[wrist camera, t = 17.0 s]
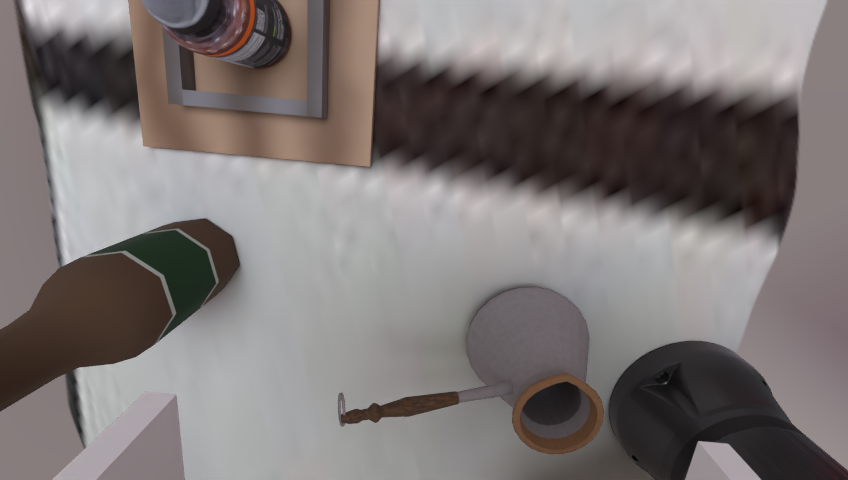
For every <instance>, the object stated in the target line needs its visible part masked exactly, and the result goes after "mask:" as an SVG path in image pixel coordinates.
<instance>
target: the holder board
mask: <svg viewBox="0 0 848 480" xmlns="http://www.w3.org/2000/svg"><path fill="white" fill-rule="evenodd" d="M278 1H279V2H280V4H281V5H282V6H283V8H284V10H285V11H286V13H287V15H288V18H289V22H290V26H291V40H290V44H289V47H288V50H287V52H286V54H285V55H284V56H283V58H282V59H281V60H280V61H279V62H277V63H276V64H274V65H272V66H270V67H267V68H261V69H257V68H249V67H245V66H240V65H237V64H233V63H230V62H229V63H228V62H226V61H223V60H219V59H215V58H211V57H208V56H204V55H202V54H198V53H195V52H192V51H190V50H188V49H186V48H184V47H182V46H181V45H179V44H178V43H176V42H175V41H174V40H173V39H172V38H171V37H170V36H169V35H168V34H167V33H166V32H165V31H164V29H163V28H162V26H161V25H160V23H159V22H158V21H157V20H155V19H154V18H153V17H152V16H151V15H150V14H149V13H148V12H147V10H146V9H145V7H144V5H143V4H142V2H141V0H128V2H129V12H130V21H131V31H132V41H133V50H134V60H135V70H136V79H137V89H138V98H139V108H140V118H141V127H142V137H143V146H147V147H158V148H169V149H180V150H191V151H202V152H213V153H224V154H235V155H246V156H258V157H269V158H280V159H291V160H302V161H313V162H324V163H335V164H346V165H357V166H368V167H370V166H372V146H373V126H374V106H375V87H376V67H377V47H378V27H379V7H380V0H278Z"/></svg>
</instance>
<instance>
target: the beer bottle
mask: <svg viewBox="0 0 848 480" xmlns="http://www.w3.org/2000/svg"><path fill="white" fill-rule="evenodd" d="M238 266H239V261H238V258H237V254H236V250H235V247H234V243H233V240H232V236H230V235H229V234H227V233H226V232H224V231H223V230H221V229H220V228H218V227H217V226H215V225H214V224H213V223H211V222H210V221H208V220H207V219H205V218H204V219H197V220H189V221H181V222H174V223H171V224H167V225H164V226H161V227H158V228H156V229H153V230H151V231H148V232H146V233H143V234H140V235H138V236H135V237H133V238H130V239H127V240H125V241H122V242H120V243H117V244H115V245H112V246H109V247H107V248H104V249H102V250H99V251H96V252H94V253H91V254H89V255H86V256H84V257H81V258H79V259H77V260H75V261H73V262H71V263H69V264H67V265H65V266H63V267H61V268H59V269H58V270H57V271H56V272H55V273H54V274H53V275H52V276H51V277H50V278H49V279H48V280H47V281H46V282H45V283H44V284H43V286H42V287H41V289H40V291H39V293H38V295H37V297H36V299H35V301H34V302H33V305H32V307H31V308H30V310H29V311H27V312H26V313H25V314H23V315H22V316H20V317H19V318H18V319H16V320H15V321H13V322H12V323H11V324H9V325H8V326H6V327H4V328H2V329H1V330H0V411H2V410H3V409H5V408H7V407H8V406H10V405H12V404H13V403H15V402H17V401H18V400H20V399H22V398H24V397H25V396H27V395H28V394H30V393H32V392H34V391H35V390H37V389H38V388H40V387H42V386H43V385H45V384H47V383H49V382H50V381H52V380H53V379H55V378H57V377H59V376H61V375H63V374H66V373H68V372H70V371H72V370H74V369H76V368H79V367H88V366H97V365H106V364H114V363H117V362H121V361H124V360H127V359H131V358H134V357H136V356H138V355H139V354H141V353H142V352H144V351H145V350H147V349H149V348H150V347H152V346H153V345H155V344H156V343H157V342H158V341H160V340H161V339H162V338H163V337H165V336H166V335H167V334H168V333H170V332H171V331H172V330H173V329H175V328H176V327H177V326H178V325H180V324H181V323H182V322H183V321H184V320H186V319H187V318H188V317H189V316H191V315H192V314H193V313H194V312H196V311H197V310H198V309H199V308H201V307H202V306H203V305H204V304H206V303H207V302H208V301H209V300H211V299H212V298H213V297H214V296H216V295H217V294H218V293H219V292H220V291H221V290H222V289H223V288H224V287H225V286H226V284H227V283H228V281H229V280H230V278H231V277H232V275H233V274H234V272H235V271H236V269H237V268H238Z"/></svg>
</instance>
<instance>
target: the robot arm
mask: <svg viewBox="0 0 848 480" xmlns="http://www.w3.org/2000/svg"><path fill="white" fill-rule="evenodd" d="M609 417H610V423H611V426H612V429H613V431H614V433H615V435H616V437H617V438H618V440H619V442H620V444H621V445H622V447H623V449H624V450H625V452H626V453H627V454H628V456H629V457H630V458H631V459H632V460H633V461H634V462H635V463H636V464H637V465H639V466H640V467H641V468H642V469H644V470H645V471H647V472H648V473H649V474H650V475H651V476H652V477H653V478H654V479H655V480H848V471H847V469H845V468H844V467H843V466H841V465H840V464H839V463H838V462H837V461H836V460H834V459H833V458H832V457H831V456H830V455H828V454H827V453H826V452H825V451H823V450H822V449H821V448H820V447H819V446H817V445H816V444H815V443H814V442H813V441H812V440H810V439H809V438H808V437H806V435H804V434H803V433H802V432H801V431H800V430H798V429H797V428H796V427H795V426H794V425H793V424H792V423H791V422H790V420H789V418H788V417H787V415H786V414H785V413H784V411H783V410H782V408H781V407H780V406H779V404H778V403H777V401H776V400H775V398H774V397H773V395H772V392H771V390H770V388H769V386H768V384H767V383H766V381H765V379H764V378H763V377H762V376H761V374H760V373H759V372H758V371H757V370H756V369H755V368H754V367H753V366H751V365H750V364H749V363H748V362H746V361H745V360H744V359H742V358H741V357H740V356H738V355H737V354H736V353H734V352H733V351H731V350H729V349H727V348H725V347H723V346H720V345H717V344H713V343H708V342H698V341H690V342H680V343H675V344H671V345H667V346H664V347H661V348H659V349H656V350H654V351H652V352H650V353H649V354H647V355H645V356H644V357H642V358H641V359H639V360H638V361H636V362H635V363H634V364H633V365H632V366H631V367H630V368H629V369H628V370H627V371H626V372H625V373H624V374H623V376H622V377H621V378H620V380H619V381H618V383H617V385H616V387H615V389H614V391H613V393H612V397H611V400H610V406H609ZM52 480H185V477H184V466H183V456H182V446H181V436H180V426H179V416H178V405H177V395H176V394H165V393H154V392H145V393H144V394H143V395H142V396H141V397H140V398H139V399H138V400H137V401H136V402H134V403H133V404H132V405H131V406H130V407H129V408H128V409H127V410H126V411H125V412H124V413H123V414H122V415H121V416H120V417H118V418H117V419H116V420H115V421H114V422H113V423H112V424H111V425H110V426H109V427H108V428H107V429H106V430H105V431H104V432H102V433H101V434H100V435H99V436H98V437H97V438H96V439H95V440H94V441H93V442H92V443H91V444H90V445H89V446H88V447H86V448H85V449H84V450H83V451H82V452H81V453H80V454H79V455H78V456H77V457H76V458H75V459H74V460H73V461H72V462H71V463H69V464H68V465H67V466H66V467H65V468H64V469H63V470H62V471H61V472H60V473H59V474H58V475H57V476H56V477H55V478H54V479H52Z"/></svg>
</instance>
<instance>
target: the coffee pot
mask: <svg viewBox="0 0 848 480" xmlns="http://www.w3.org/2000/svg"><path fill="white" fill-rule="evenodd" d="M588 349H589V333H588V328H587V324H586V321H585V319H584V317H583V316H582V314H581V312H580V311H579V309H578V308H577V307H576V306H575V305H574V304H573V303H572V302H571V301H570V300H568V299H567V298H566V297H564V296H562V295H560V294H558V293H556V292H554V291H552V290H547V289H543V288H538V287H525V288H516V289H512V290H509V291H505V292H503V293H501V294H499V295H497V296H496V297H494V298H492V299H491V300H489V301H488V302H487V303H486V304H485V305H484V306H483V307H482V308H481V309H480V310H479V311H478V313H477V314H476V316H475V317H474V319H473V321H472V322H471V324H470V328H469V332H468V335H467V355H468V358H469V361H470V364H471V367H472V368H473V370H474V371H475V373H476V374H477V376H478V377H479V378H480V379H481V380H482V381H483V382H484V383H485V384H486V385H487V386H484V387H479V388H475V389H470V390H465V391H460V392H447V393H438V394H430V395H421V396H413V397H405V398H402V399H400V400H397V401H394V402H391V403H388V404H385V405H382V406H379V405H378V404H376V403H373V404H372V405H371V406H370V407H369V408H368V409H363V410H359V409H354V410H351V411H348V412H347V413H345V400H344V395H343V393H339V396H338V414H339V421H340V425H341V427H342V426H344V425H345V423H348V424H353V423H359V422H361V421H362V420H368V419H369V420H371V421H373V422H375V423H376V422H378V421H379V420H380V419H381V417H401V416H404V417H409V416H412V415H416V414H420V413H424V412H428V411H432V410H436V409H440V408H444V407H448V406H452V405H456V404H458V403H460V402H467V401H473V400H479V399H486V398H492V397H498V396H500V397H501V398H502V399H504V400H505V401H506V402H507V403H508V404H509V405H510V406H512V407H513V408H514V409H513V412H512V423H513V426H514V429H515V432H516V433H517V435H518V436H519V438H520V439H521V440H522V441H523V442H524V443H525V444H526V445H528V446H529V447H530V448H532V449H535V450H537V451H539V452H543V453H548V454H563V453H568V452H572V451H575V450H577V449H579V448H581V447H583V446H585V445H586V444H587V443H589V442H590V441H591V440H592V439H593V438H594V437H595V436H596V434H597V433H598V432H599V430H600V427H601V425H602V422H603V414H604V410H603V406H602V401H601V399H600V397H599V396H598V394H597V393H596V391H595V390H593V389H592V388H591V387H590V386H589V385H588V384H586V383H585V382H586V371H587V360H588ZM341 400H342V408H343V414H341Z"/></svg>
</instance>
